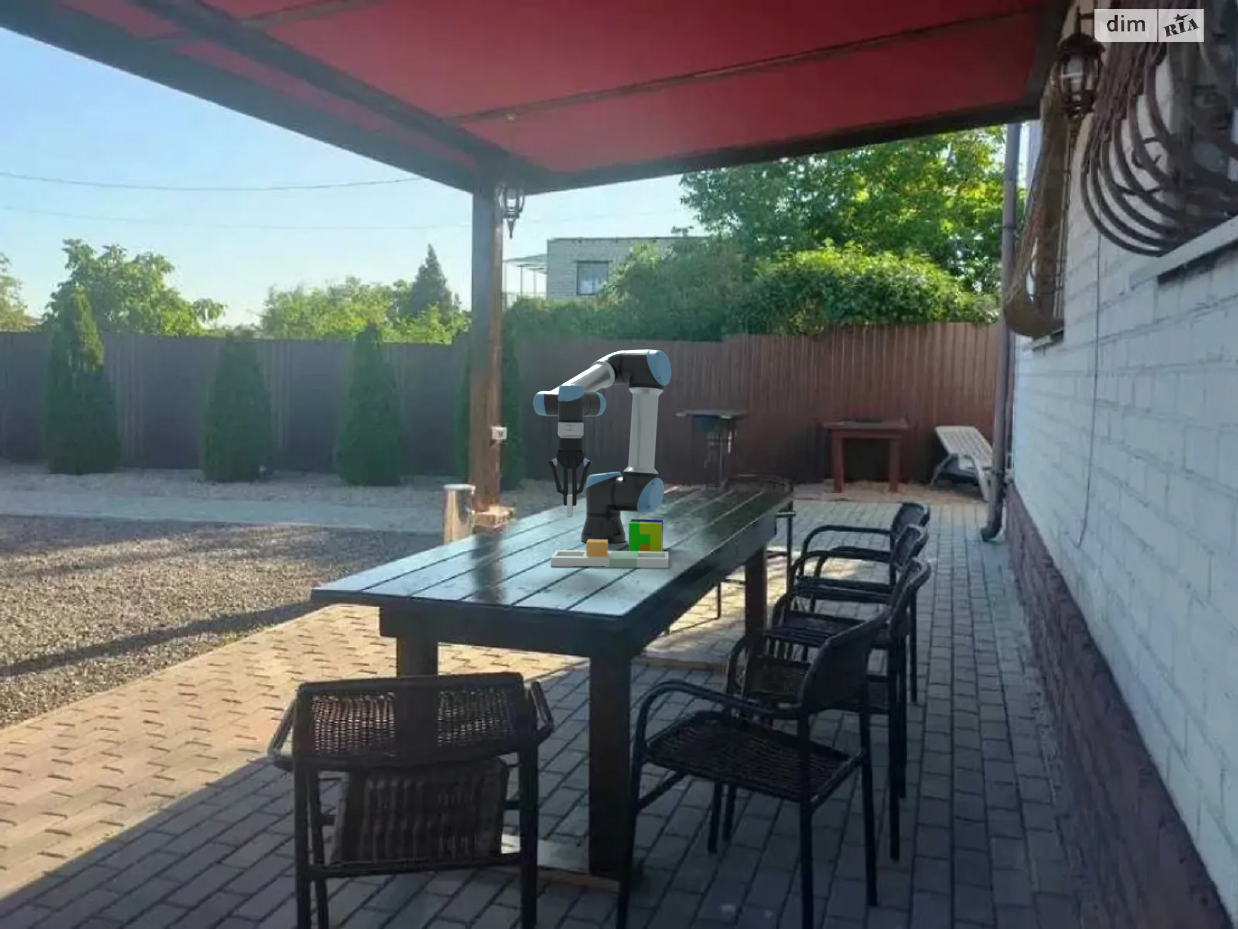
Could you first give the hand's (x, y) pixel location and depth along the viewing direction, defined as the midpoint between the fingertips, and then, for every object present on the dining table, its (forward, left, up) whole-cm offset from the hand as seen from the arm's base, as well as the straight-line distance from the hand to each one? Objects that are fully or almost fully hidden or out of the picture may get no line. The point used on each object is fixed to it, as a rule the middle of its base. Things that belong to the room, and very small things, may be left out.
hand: (569, 516), depth 298 cm
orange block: (0, +8, -11) cm, 14 cm away
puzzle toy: (-20, +22, -14) cm, 33 cm away
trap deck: (0, +12, -14) cm, 18 cm away
